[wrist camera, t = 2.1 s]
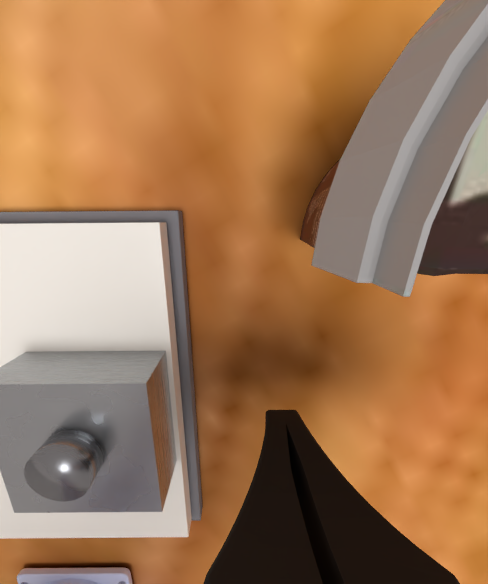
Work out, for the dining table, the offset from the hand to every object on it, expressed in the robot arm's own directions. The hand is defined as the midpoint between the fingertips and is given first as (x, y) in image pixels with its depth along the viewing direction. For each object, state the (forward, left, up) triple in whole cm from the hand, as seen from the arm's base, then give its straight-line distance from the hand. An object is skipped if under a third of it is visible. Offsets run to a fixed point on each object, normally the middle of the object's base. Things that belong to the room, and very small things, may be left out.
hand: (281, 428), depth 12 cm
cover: (0, +9, -1) cm, 9 cm away
